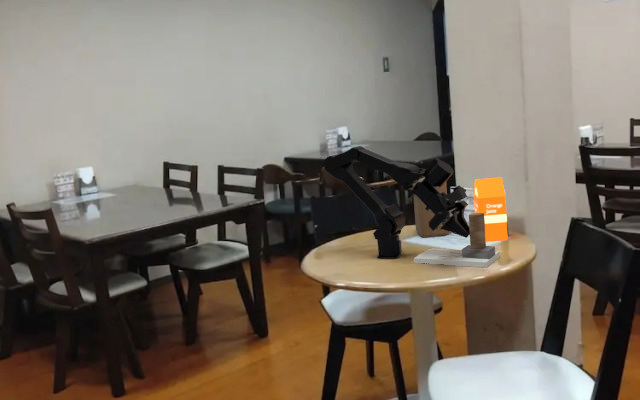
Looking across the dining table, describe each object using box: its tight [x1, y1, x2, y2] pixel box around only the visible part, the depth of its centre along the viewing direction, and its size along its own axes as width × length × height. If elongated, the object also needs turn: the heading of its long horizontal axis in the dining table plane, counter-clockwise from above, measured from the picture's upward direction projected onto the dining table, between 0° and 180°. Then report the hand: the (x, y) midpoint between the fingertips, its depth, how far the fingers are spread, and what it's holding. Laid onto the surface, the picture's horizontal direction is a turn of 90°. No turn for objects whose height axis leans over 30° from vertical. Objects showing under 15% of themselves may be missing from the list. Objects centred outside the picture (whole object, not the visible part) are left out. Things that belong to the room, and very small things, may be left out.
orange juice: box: [473, 176, 509, 243], centre depth 218 cm, size 8×9×20 cm
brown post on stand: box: [461, 212, 496, 259], centre depth 193 cm, size 8×5×12 cm, turn 56°
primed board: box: [413, 247, 500, 268], centre depth 198 cm, size 22×12×2 cm, turn 58°
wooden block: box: [412, 177, 450, 238], centre depth 233 cm, size 10×10×20 cm
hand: (469, 235), depth 194 cm, fingers open, 3 cm apart
